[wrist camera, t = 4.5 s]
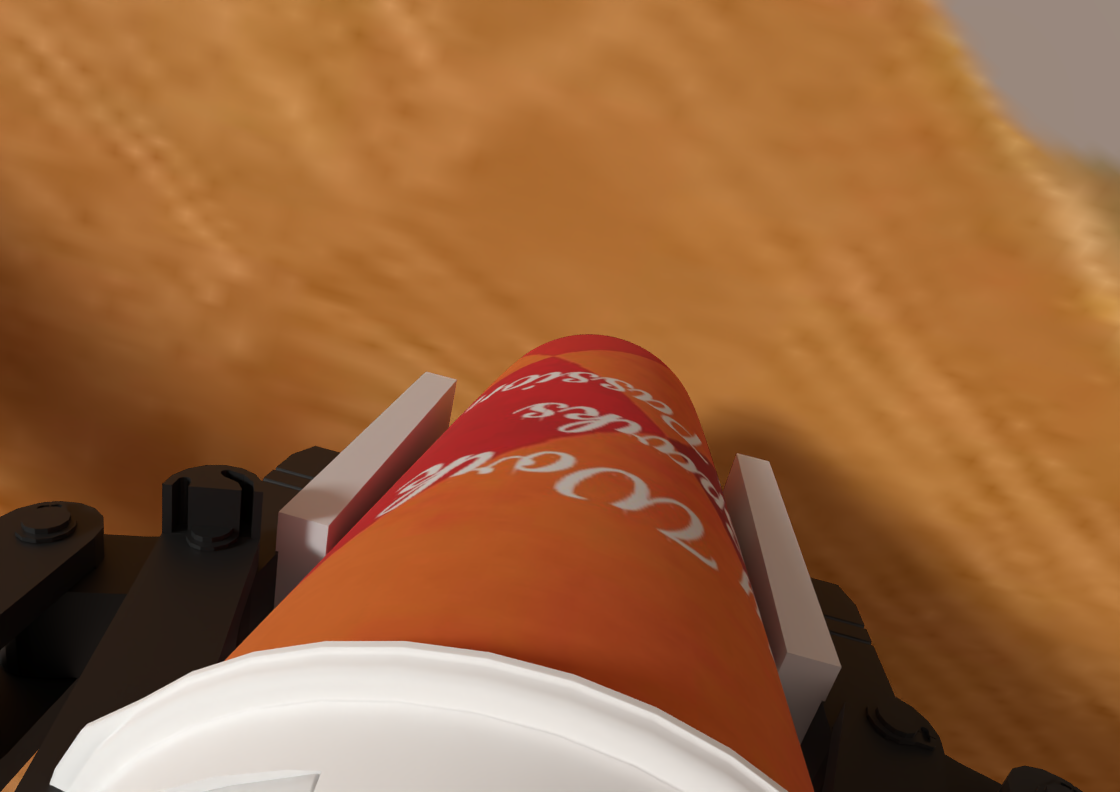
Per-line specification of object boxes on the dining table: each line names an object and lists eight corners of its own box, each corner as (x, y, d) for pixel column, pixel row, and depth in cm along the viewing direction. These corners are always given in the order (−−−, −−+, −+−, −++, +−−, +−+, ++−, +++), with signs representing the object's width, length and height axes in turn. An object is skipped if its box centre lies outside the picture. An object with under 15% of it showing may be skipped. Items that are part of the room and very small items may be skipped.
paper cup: (805, 407, 17) (1314, 1312, 4) (624, 606, 19) (551, 1526, 6) (545, 224, 16) (58, 538, 3) (396, 456, 19) (-194, 1142, 6)
